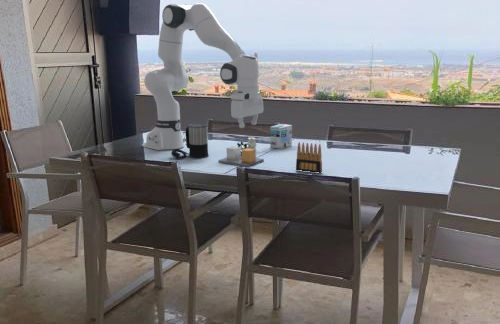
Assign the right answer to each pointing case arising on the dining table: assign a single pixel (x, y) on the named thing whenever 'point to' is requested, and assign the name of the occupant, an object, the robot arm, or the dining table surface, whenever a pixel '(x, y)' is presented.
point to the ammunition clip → (309, 158)
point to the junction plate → (237, 158)
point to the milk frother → (195, 142)
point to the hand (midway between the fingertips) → (248, 126)
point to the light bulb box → (281, 136)
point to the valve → (248, 144)
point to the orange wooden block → (248, 155)
